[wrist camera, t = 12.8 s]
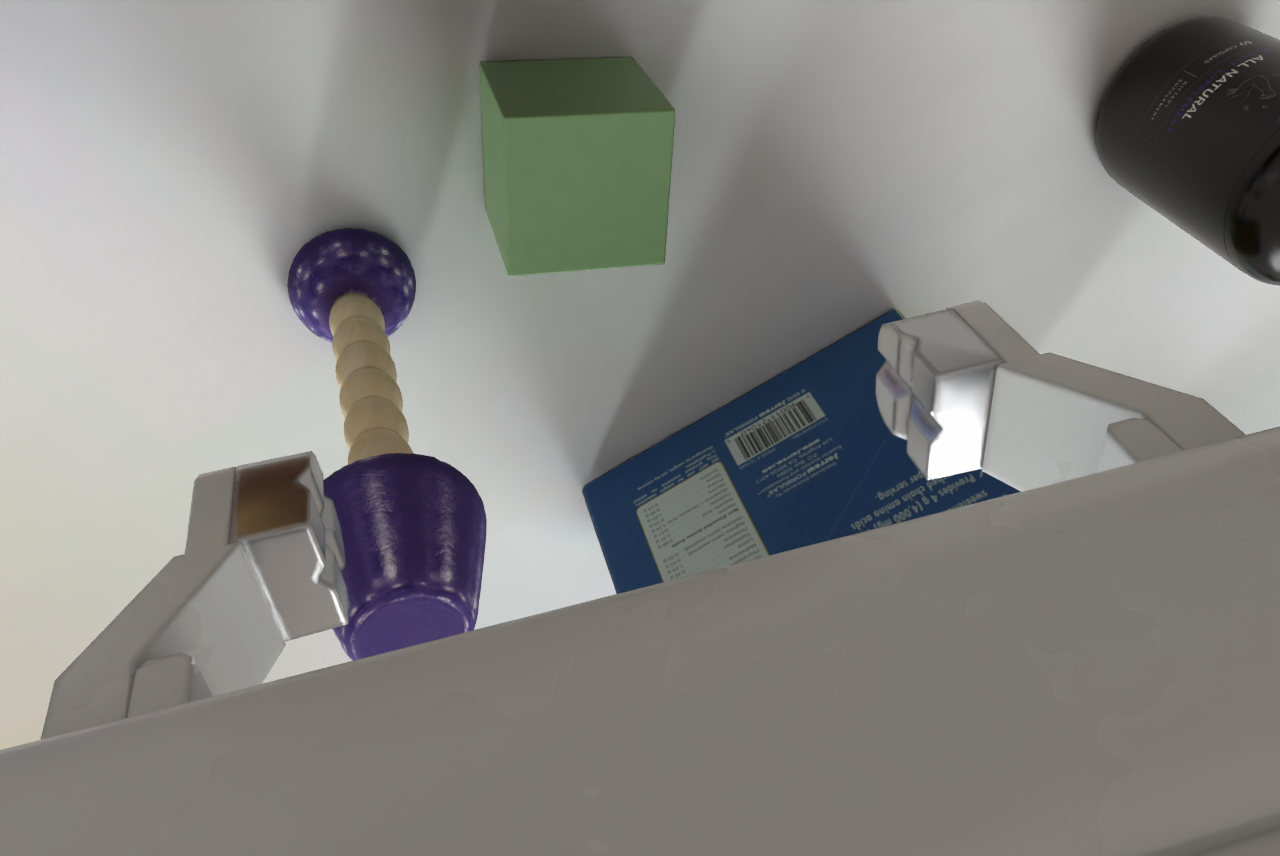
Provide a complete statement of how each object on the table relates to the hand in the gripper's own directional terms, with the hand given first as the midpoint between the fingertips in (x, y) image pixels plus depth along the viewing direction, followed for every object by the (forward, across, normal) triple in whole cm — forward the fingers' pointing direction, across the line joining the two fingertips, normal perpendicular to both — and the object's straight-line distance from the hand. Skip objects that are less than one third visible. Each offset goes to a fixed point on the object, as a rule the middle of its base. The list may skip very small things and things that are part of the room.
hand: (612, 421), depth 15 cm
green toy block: (+22, -3, +5) cm, 23 cm away
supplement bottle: (+22, -27, +8) cm, 36 cm away
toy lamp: (+22, +5, +9) cm, 24 cm away
